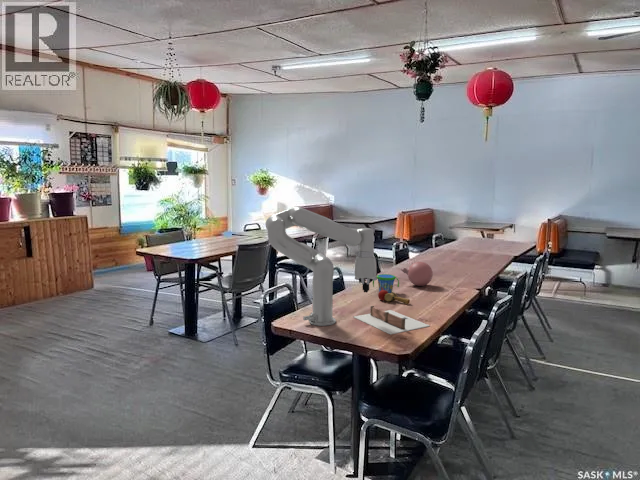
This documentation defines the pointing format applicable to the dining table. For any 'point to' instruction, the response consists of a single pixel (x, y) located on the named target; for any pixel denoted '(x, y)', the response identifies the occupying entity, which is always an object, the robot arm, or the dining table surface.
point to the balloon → (419, 273)
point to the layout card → (389, 328)
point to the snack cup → (386, 282)
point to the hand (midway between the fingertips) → (365, 291)
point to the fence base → (394, 320)
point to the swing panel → (377, 313)
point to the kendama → (391, 297)
